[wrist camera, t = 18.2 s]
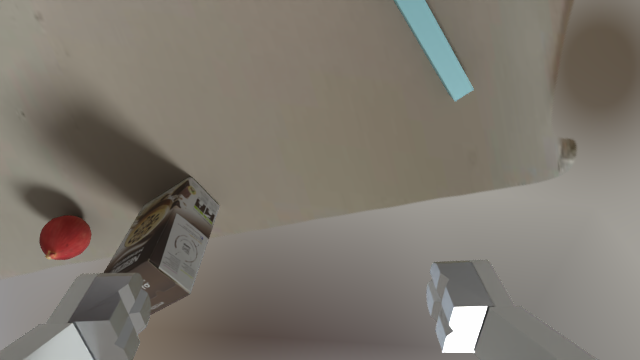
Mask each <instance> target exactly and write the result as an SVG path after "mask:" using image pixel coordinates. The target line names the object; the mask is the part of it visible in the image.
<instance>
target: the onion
mask: <svg viewBox="0 0 640 360" xmlns="http://www.w3.org/2000/svg"><path fill="white" fill-rule="evenodd" d="M90 240H91V230H90V227H89V225H88V224H87V223H86V222H85V221H84V220H83V219H82V218H79V217H76V216H69V215H64V216H61V217H57V218H54V219H52V220H51V221H49V222H48V223H47V224H46V225H45V226H44V227H43V229H42V231H41V234H40V246H41V248H42V251H43V252H44V253H45V254H46V256H45V257H46V258H47V259H55V260H66V259H70V258H73V257H75V256H77V255H79V254H81V253H82V252H83V251H84V250H85V249H86V248H87V246H88V245H89V243H90Z"/></svg>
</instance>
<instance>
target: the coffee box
mask: <svg viewBox="0 0 640 360" xmlns="http://www.w3.org/2000/svg"><path fill="white" fill-rule="evenodd" d="M218 210H219V205H218V204H217V203H216V202H215V201H214V200H213V199H212V198H211V197H210V196H209V195H208V194H207V192H206V191H205V190H204V189H203V188H202V187H201V186H200V185H199V184H198V183H197V182H196V181H195V180H194V179H193V178H191V177H189V178H187V179H185V180H184V181H182V182H181V183H179V184H177V185H176V186H174V187H173V188H171V189H169V190H168V191H166V192H165V193H163V194H161V195H160V196H158V197H157V198H155V199H153V200H152V201H150V202H148V203H147V204H145V205H144V206H143V208H142V209H141V211H140V213H139V214H138V216H137V217H136V219H135V221H134V223H133V224H132V226H131V228H130V229H129V231H128V233H127V234H126V236H125V238H124V239H123V241H122V243H121V245H120V246H119V248H118V250H117V251H116V253H115V255H114V256H113V258H112V260H111V261H110V263H109V265H108V266H107V268H106V270H105V271H104V273H139V274H140V275H141V277H142V279H143V281H144V283H143V285H142V287H141V289H143V290H144V291H146V292H147V293H148V295H149V297H150V302H151V312H150V315H151V314H153V313H155V312H157V311H159V310H161V309H163V308H165V307H167V306H169V305H171V304H172V303H174V302H176V301H178V300H180V299H182V298H184V297H186V296H188V295H190V294H191V290H192V287H193V284H194V282H195V279H196V275H197V273H198V270H199V267H200V264H201V261H202V258H203V255H204V252H205V249H206V246H207V243H208V239H209V237H210V234H211V231H212V228H213V225H214V222H215V219H216V215H217V213H218Z"/></svg>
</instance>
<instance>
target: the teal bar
mask: <svg viewBox="0 0 640 360" xmlns="http://www.w3.org/2000/svg"><path fill="white" fill-rule="evenodd" d="M394 2H395V4H396V5H397V7H398V9H399V10H400V12H401V14H402V15H403V17H404V19H405V20H406V22H407V24H408V26H409V27H410V29H411V31H412V32H413V34H414V36H415V37H416V39H417V41H418V43H419V44H420V46H421V48H422V49H423V51H424V53H425V54H426V56H427V58H428V59H429V61H430V63H431V65H432V66H433V68H434V70H435V71H436V73H437V75H438V76H439V78H440V80H441V82H442V83H443V85H444V87H445V88H446V90H447V92H448V93H449V95H450V96H451V97H452V99H453V100H454V101H457V100H458V99H460V98H461V97H463V96H464V95H466V94H468V93H469V92H471V91H472V90H474V89H473V87H472V85H471V83H470V82H469V80H468V78H467V76H466V74H465V72H464V71H463V69H462V67H461V65H460V63H459V61H458V60H457V58H456V56H455V54H454V52H453V51H452V49H451V47H450V45H449V43H448V41H447V40H446V38H445V36H444V34H443V32H442V30H441V29H440V27H439V25H438V23H437V21H436V19H435V18H434V16H433V14H432V12H431V10H430V9H429V7H428V5H427V3H426V1H425V0H394Z"/></svg>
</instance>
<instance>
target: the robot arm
mask: <svg viewBox="0 0 640 360" xmlns="http://www.w3.org/2000/svg"><path fill="white" fill-rule="evenodd" d="M430 274H431V276H432V280H431V281H430V282H428V285H427V292H426V294H427V305H428V310H429V313H430V316H431V317H432V318H433V319H434V320H435V321H436V322H437V325H436V330H435V331H436V334H437V337H438V340H439V342H440V346H441V349H442V352H474V354H475V355H476V356H477V357H478V358H479V359H480V360H598V359H597V358H595V357H594V356H592V355H591V354H589V353H588V352H587V351H585V350H584V349H582V348H581V347H579V346H578V345H577V344H575V343H574V342H572V341H571V340H569V339H568V338H566V337H565V336H563V335H562V334H561V333H559V332H558V331H556V330H555V329H553V328H552V327H550V326H549V325H547V324H546V323H545V322H543V321H542V320H540V319H539V318H537V317H536V316H534V315H533V314H532V313H530V312H529V311H527V310H526V309H524V308H523V307H522V306H515V304H514V303H513V301H512V299H511V297H510V296H509V294H508V292H507V291H506V289H505V287H504V285H503V284H502V282H501V280H500V278H499V277H498V275H497V273H496V271H495V270H494V268H493V266H492V264H491V263H490V262H489V261H488V260H470V261H450V262H449V261H448V262H434V263H433V264H432V265H431V270H430ZM143 283H144V281H143V279H142V277H141V275H140V274H139V273H100V274H81V275H80V276H78V277H77V278H76V279H75V281H74V282H73V284H72V285H71V287H70V288H69V290H68V291H67V293H66V294H65V296H64V297H63V298H62V300H61V302H60V303H59V305H58V306H57V307H56V309H55V311H54V312H53V314H52V315H51V316H50V318H49V319H48V321H47V322H46V324H39V325H38V326H36V327H35V328H33V329H32V330H30V331H29V332H27V333H26V334H25V335H23V336H22V337H20V338H19V339H17V340H16V341H14V342H13V343H11V344H10V345H8V346H7V347H5V348H4V349H3V350H1V351H0V360H133V358H134V356H135V353H136V351H137V349H138V346H139V344H140V340H139V338H138V334H139V333H140V332H141V331H142V330H144V329H145V328H146V326H147V323H148V321H149V318H150V312H151V302H150V297H149V295H148V293H147V292H146V291H144V290H143V289H141V287H142V285H143Z"/></svg>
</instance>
